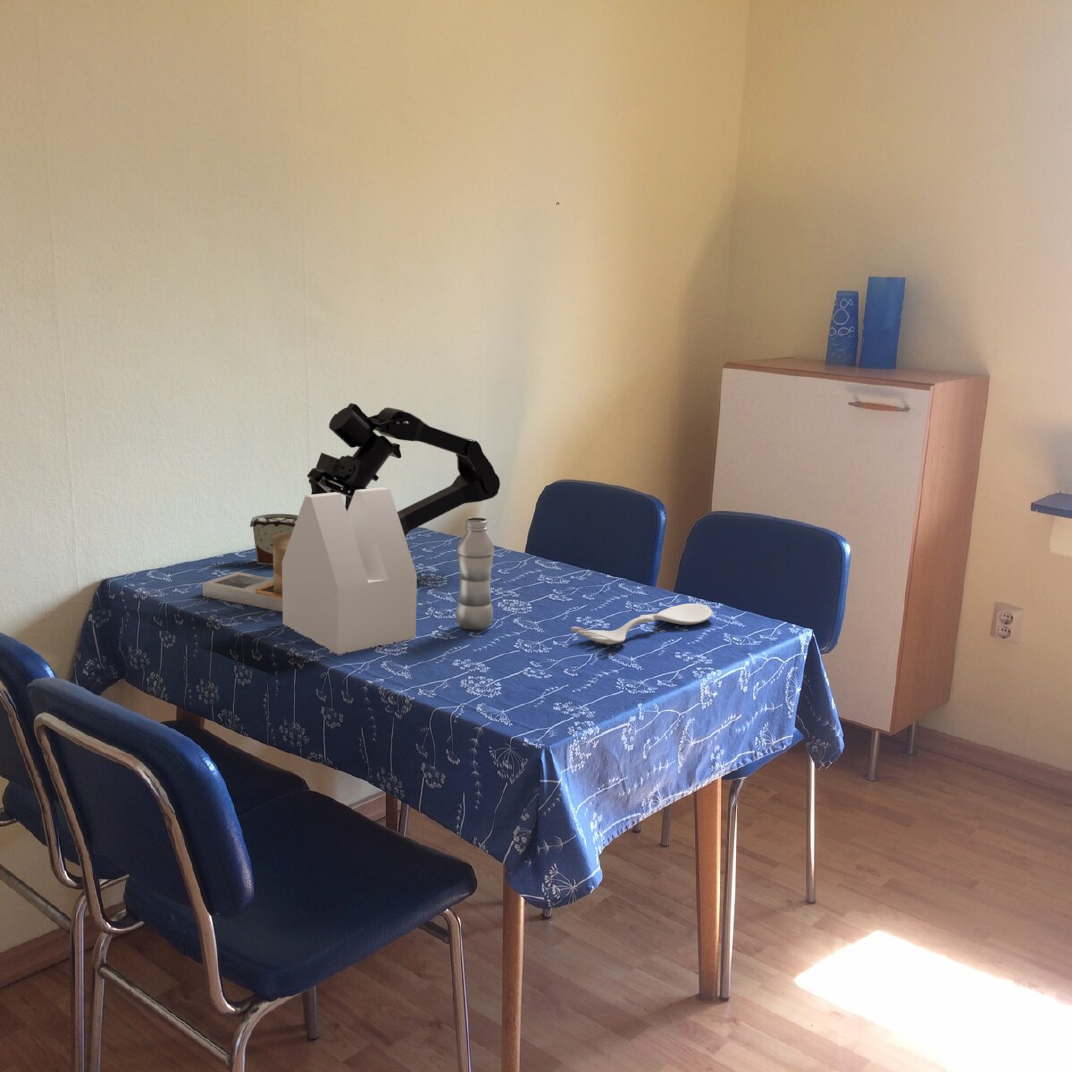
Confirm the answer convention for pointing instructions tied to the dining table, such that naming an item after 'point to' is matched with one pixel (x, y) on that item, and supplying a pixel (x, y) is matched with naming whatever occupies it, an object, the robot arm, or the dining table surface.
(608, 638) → the spoon
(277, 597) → the compartment tray
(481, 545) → the plastic bottle
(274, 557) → the wooden peg
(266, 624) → the dining table surface
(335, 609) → the white notched block
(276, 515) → the food container
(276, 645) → the dining table surface
